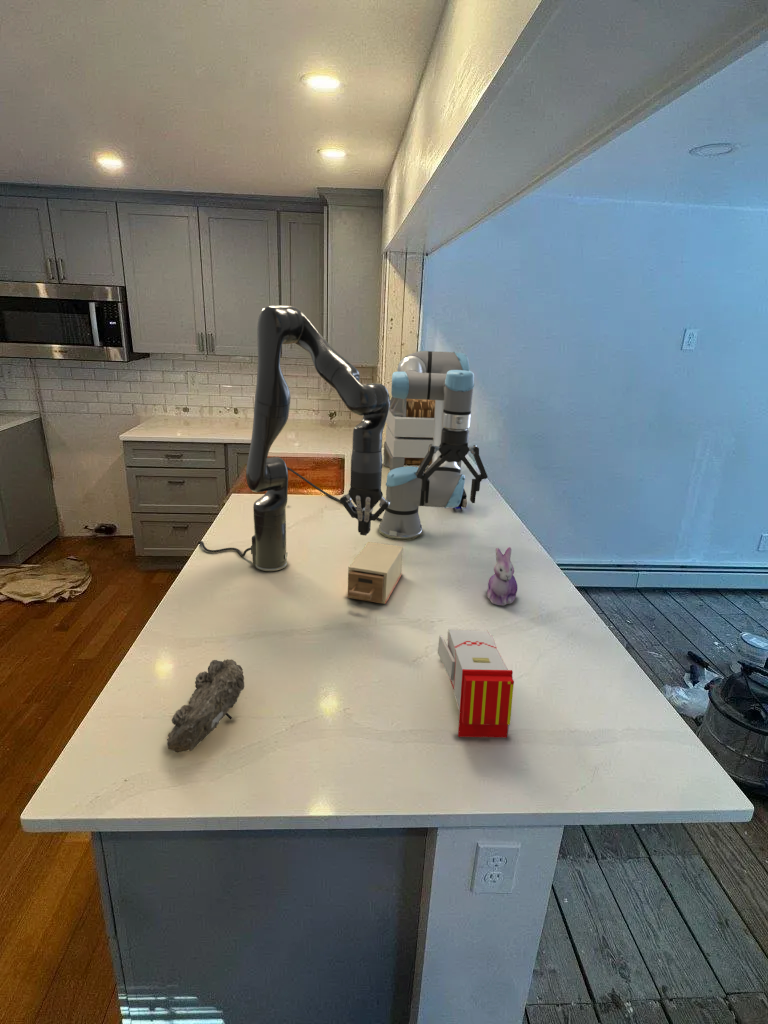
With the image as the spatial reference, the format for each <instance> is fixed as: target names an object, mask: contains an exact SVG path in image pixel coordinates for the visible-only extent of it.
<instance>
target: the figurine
mask: <svg viewBox="0 0 768 1024" xmlns="http://www.w3.org/2000/svg"><path fill="white" fill-rule="evenodd" d="M511 557H512V547H511V546H509V547H507V548H506V550H505V552H504V553H503V552H502V551H501V549H500V548H499V547H496V548H495V560H496V561H495V565H494V567H493V572H494V573H493V574H492V575H491V576H490V577H489V578H488V581H487V582H488V583H487V592H486V596H487V598H488V600H489V601H490V603H491V604H493V605H496V606H506V605H508V604H512V603H513V602H514V601H515V600H516V596H517V593H518V583H517V579H516V578H515V575H514V573H515V567H514V565H513V563H512V560H511Z"/></svg>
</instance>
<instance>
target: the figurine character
mask: <svg viewBox="0 0 768 1024" xmlns="http://www.w3.org/2000/svg"><path fill="white" fill-rule="evenodd" d="M467 495H468V494H467V493H466V490H465V488H464V489H463V494H462V498H461V502H460V504H459V506H457V507H455V508H452V510H453V512H456V510H458V509H459V510H460V512H463V509H464V508H465V509H466V508H467V506H468V499H467V497H468V496H467Z"/></svg>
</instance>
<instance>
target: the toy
mask: <svg viewBox="0 0 768 1024" xmlns="http://www.w3.org/2000/svg"><path fill="white" fill-rule="evenodd" d="M446 640H447V643H446V641H445V639H444V636H443V635H442V634H439V637H438V646H437V656H438V657H439V659H440V661H441V663H442V666H443V668H444V670H445V672H446V674H447V677H448V679H449V681H450V684H451V687H452V690H453V693H454V697H455V701H456V705H457V708H458V711H459V714H458V715H459V716H458V730H457V731H458V732H457V737H458V738H508V731H509V726H510V725H511V717H512V707H513V697H514V696H513V695H514V684H515V680H514V679H513V673H514V671H513V670H512V669H508V667H507V665H506V662H505V661H504V659H503V658H502V655H501V653H500V651H499V649H498V647H497V643H496V639H495V637H494V635H493V634H491V632H490V631H489V629H467V628H466V629H465V628H463V629H461V628H460V629H459V628H448V630H447V639H446Z"/></svg>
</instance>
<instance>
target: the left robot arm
mask: <svg viewBox="0 0 768 1024" xmlns="http://www.w3.org/2000/svg"><path fill="white" fill-rule="evenodd" d="M291 344H295V345H297V346H299V347H300V348H302V349H304V350H305V351H306V352H307V353H308V354H309V356H310V358H311V362H312V364H313V367H314V369H315V371H316V373H317V374H318V375H319V376H320V378H322V379H323V380H324V381H325V382H326V383H327V384H328V385H329V386H331V388H333V390H334V391H336V393H337V394H338V396H339V398H340V399H341V401H342V403H343V404H344V405H345V407H346V408H347V409H348V410H349V412H351V413H353V414H355V415H356V416H360V417H362V419H361V421H360V422H359V423H358V424H356V425H355V426H354V427H353V430H352V444H351V445H352V446H351V447H352V448H351V456H350V487H349V490H348V491H347V492H348V493H346V494H343V496H341V497H340V498H339V499H340V501H341V502H342V503H341V504H342V506H343V507H344V509H345V510H346V511H347V513H348V514H349V515H350V517H351V518H352V519H356V520H357V531H358V533H359V535H360V536H367V535H368V534H369V533H370V532H371V525H372V524H371V523H372V521H373V522H375V521H376V519H377V518H380V516H381V515H382V514H384V513H385V509H386V508H387V507H388V506H389V505H390V503H391V502H390V501H389V500H386V497H384V493H383V491H382V476H383V452H382V451H383V450H382V449H383V432H384V428H385V426H386V424H387V423H386V419H387V415H388V411H389V406H390V400H391V398H390V397H391V396H390V393H389V390H388V389H387V387H386V386H385V385H384V384H383V383H381V382H380V383H379V382H370V383H361V382H360V377H361V376H360V372H359V370H358V369H357V368H356V367H355V366H354V365H353V364H352V363H351V362H349V360H347V359H346V358H345V357H344V356H343V355H341V354H340V353H339V352H338V351H337V350H336V349H335V348H334V347H333V346H332V345H330V343H329V342H328V341H327V340H326V339H325V337H324V336H323V335H322V334H321V333H320V331H319V330H318V329H317V327H316V326H315V325H314V324H313V323H312V322H311V320H310V319H309V318H308V317H307V315H306V314H305V313H304V312H303V311H302V310H301V309H300V308H299V307H296V306H294V305H288V304H286V305H284V304H282V305H280V304H279V305H267V306H265V307H263V308H262V310H260V313H259V315H258V319H257V371H256V386H255V393H254V394H255V395H254V405H253V421H252V432H251V440H250V446H249V451H248V455H247V456H248V457H247V462H246V467H245V468H246V469H245V478H246V479H245V480H246V484H247V486H248V489H249V490H250V491H252V492H254V493H264V492H265V493H264V494H263V495H262V496H261V497H260V498H258V499H256V500H255V501H254V503H253V507H252V508H253V509H252V510H253V530H254V535H252V537H251V545H250V547H248V548H246V549H245V550H244V551H243V553H242V551H241V550H240V549H239V548H236V547H225V548H220V549H208V548H207V547H206V546H205V543H204V541H203V540H200V541H198V543H197V545H201V547H202V549H203V550H204V551H205V552H208V553H220V552H226V551H235V552H237V553H238V554H239V556H240V557H245V556H246V555H247V553H248V552H249V551H250V554H251V556H252V567H254V568H256V569H257V570H259V571H263V572H277V571H280V570H283V569H284V568H286V567H287V566H288V559H287V558H288V552H287V513H286V512H287V511H286V510H287V504H288V495H289V493H288V492H289V470H288V469H287V467H288V466H287V464H286V462H285V460H284V459H283V458H282V457H279V456H272V457H268V456H269V453H270V450H271V447H272V445H273V444H274V442H275V440H276V439H277V438H278V436H279V435H280V434H281V432H282V430H283V429H284V428H285V427H286V426H285V425H286V424H287V422H288V420H289V415H290V407H291V392H290V388H289V386H288V384H287V381H286V378H285V376H284V374H283V372H282V368H281V352H282V346H283V345H291ZM377 504H378V506H379V508H378V509H377V510H376V511H375V512H374V513H373V511H374V508H375V507H376V506H377ZM355 507H357V509H356V508H355Z"/></svg>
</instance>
